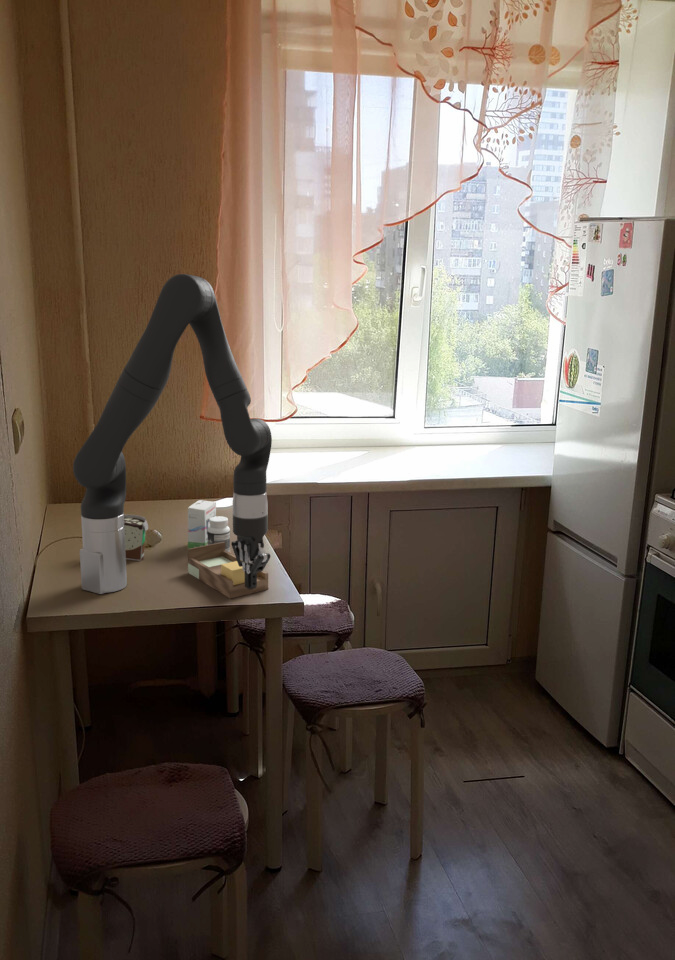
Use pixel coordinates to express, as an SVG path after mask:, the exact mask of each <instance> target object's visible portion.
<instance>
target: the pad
mask: <svg viewBox="0 0 675 960" xmlns="http://www.w3.org/2000/svg"><path fill="white" fill-rule="evenodd" d="M199 562H201V563H202V564H204V565H206V566H208V567H212V566H217V565H221V564H225V563H230V562H232V561H230V560H228V559H226V558H225V557H223V556H222V557H217V558H213V559H208V560H203V561H199ZM187 572H188V574H189V575H191V576H193V577H195V578H196V579H198V580H199V569H197V568H196V567H194V566H192V565H191V564H189V563H188V562H187Z"/></svg>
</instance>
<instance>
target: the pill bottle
mask: <svg viewBox="0 0 675 960" xmlns="http://www.w3.org/2000/svg"><path fill="white" fill-rule="evenodd" d="M209 523H210V527H209V528H208V530H207V535H208V545H210V544H215V543H220V542H225V550H226V551H227V552H229V553H231V528H230V527H229V525H228V524H229V519H228V517H227V516H222V515H221V516H220V515H218V516H217V515H216V517H211V518H210V519H209Z"/></svg>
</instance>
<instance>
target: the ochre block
mask: <svg viewBox="0 0 675 960" xmlns="http://www.w3.org/2000/svg"><path fill="white" fill-rule="evenodd" d="M221 574H222V575H223V576H225V577H227V578H228V579H230V580H232V581H233V585H237V584H241V583H245V572H244V571H243V569H242V566H241V567H240V566H239V565H238V562H237V561H234V562H230V563H225V564H221Z"/></svg>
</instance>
